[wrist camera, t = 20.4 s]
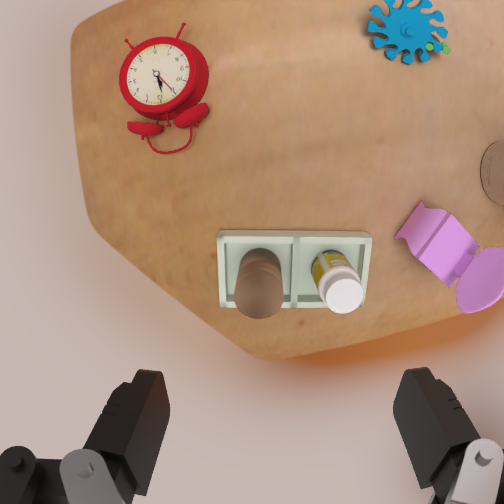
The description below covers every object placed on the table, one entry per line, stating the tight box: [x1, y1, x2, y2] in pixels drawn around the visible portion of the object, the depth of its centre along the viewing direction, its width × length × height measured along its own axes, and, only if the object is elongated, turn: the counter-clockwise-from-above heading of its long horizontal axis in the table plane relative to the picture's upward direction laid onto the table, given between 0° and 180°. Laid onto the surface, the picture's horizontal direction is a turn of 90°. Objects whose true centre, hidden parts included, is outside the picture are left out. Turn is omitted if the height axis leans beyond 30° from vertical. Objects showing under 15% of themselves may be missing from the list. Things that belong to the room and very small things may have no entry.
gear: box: [367, 0, 450, 64], centre depth 28 cm, size 11×6×10 cm
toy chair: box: [394, 201, 504, 313], centre depth 31 cm, size 8×9×15 cm
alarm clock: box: [119, 23, 209, 154], centre depth 32 cm, size 10×6×15 cm
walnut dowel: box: [234, 248, 284, 319], centre depth 36 cm, size 5×5×8 cm
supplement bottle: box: [311, 250, 363, 314], centre depth 35 cm, size 5×5×8 cm
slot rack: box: [217, 230, 372, 308], centre depth 39 cm, size 18×9×3 cm, turn 90°
